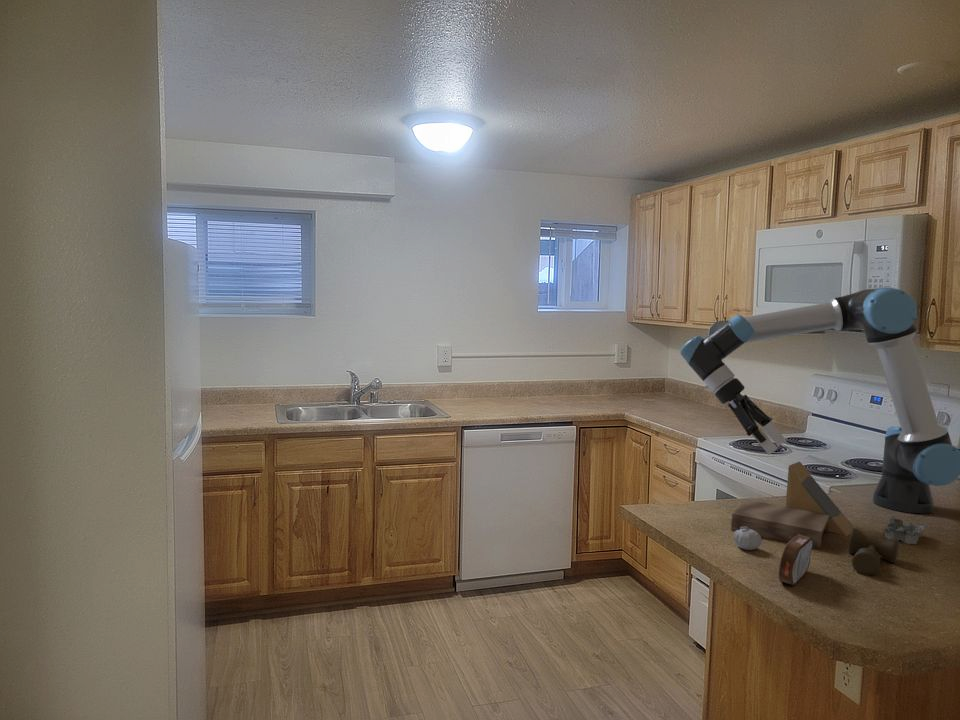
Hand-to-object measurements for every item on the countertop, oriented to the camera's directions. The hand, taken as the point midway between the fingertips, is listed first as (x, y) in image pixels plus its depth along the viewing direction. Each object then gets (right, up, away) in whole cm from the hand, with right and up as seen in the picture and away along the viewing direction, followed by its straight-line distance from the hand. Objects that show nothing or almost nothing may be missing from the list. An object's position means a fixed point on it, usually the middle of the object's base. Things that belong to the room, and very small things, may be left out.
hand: (778, 447), depth 183 cm
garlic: (-18, -20, -25) cm, 37 cm away
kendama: (+7, -22, -30) cm, 38 cm away
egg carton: (+26, -21, -12) cm, 36 cm away
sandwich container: (+9, -20, -5) cm, 22 cm away
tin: (-15, -22, -42) cm, 49 cm away
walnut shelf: (-4, -19, -11) cm, 23 cm away
